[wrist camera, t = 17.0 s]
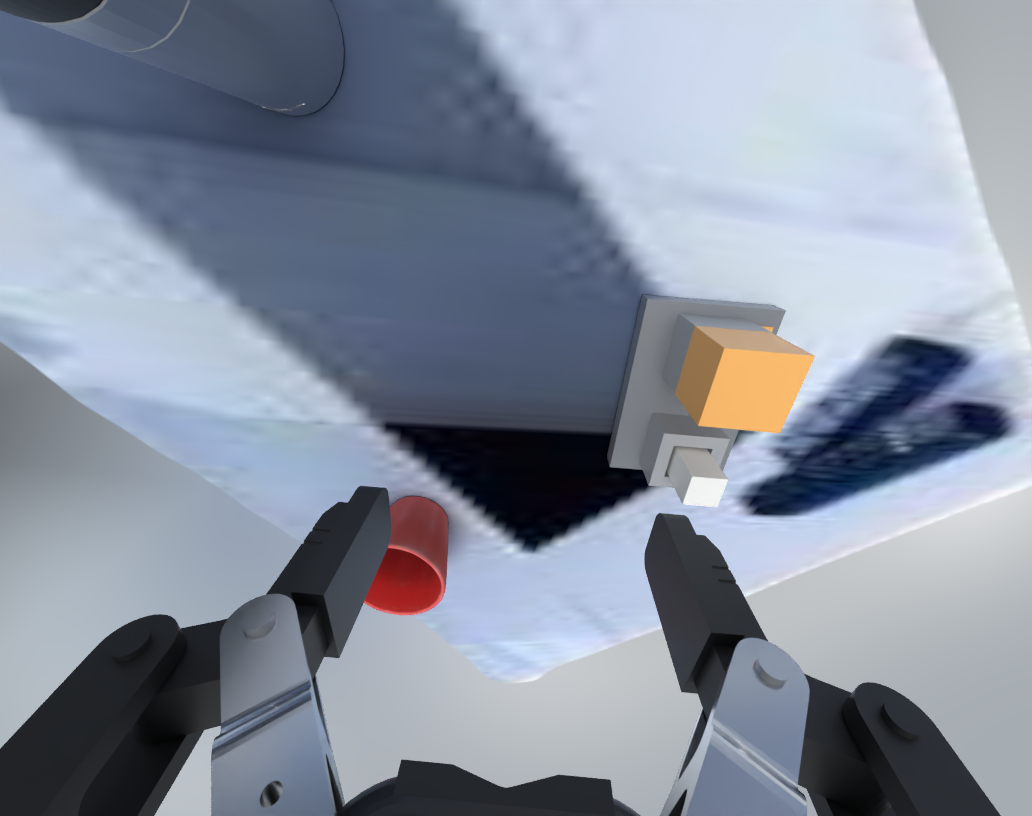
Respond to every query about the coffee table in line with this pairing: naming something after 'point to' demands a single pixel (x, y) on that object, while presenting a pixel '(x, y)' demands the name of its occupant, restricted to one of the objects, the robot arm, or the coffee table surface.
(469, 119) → the coffee table surface
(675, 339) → the breaker panel
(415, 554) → the flower pot
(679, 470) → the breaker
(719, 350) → the orange wooden cube
